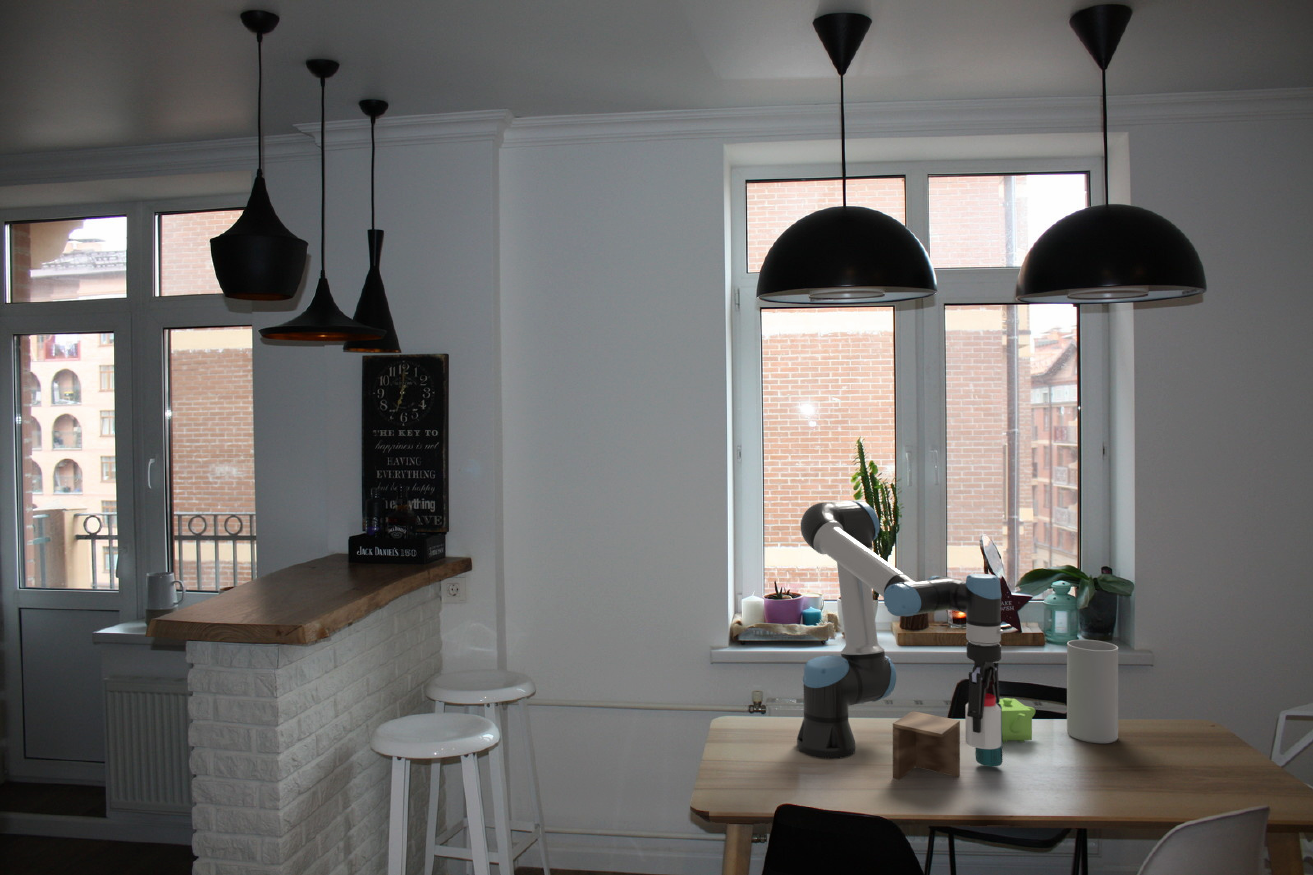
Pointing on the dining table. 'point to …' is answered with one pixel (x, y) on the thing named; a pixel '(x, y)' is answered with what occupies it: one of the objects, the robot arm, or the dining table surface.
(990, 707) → the pill bottle
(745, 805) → the dining table surface
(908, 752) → the awning shelf
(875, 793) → the dining table surface
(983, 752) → the beverage bottle
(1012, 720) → the teapot
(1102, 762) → the dining table surface
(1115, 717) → the cylinder vase
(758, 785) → the dining table surface
